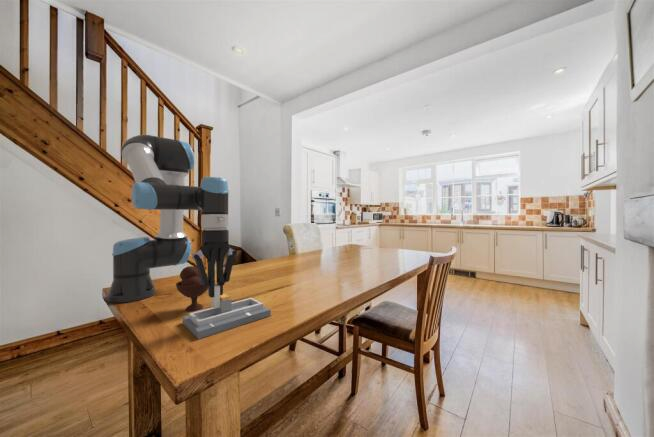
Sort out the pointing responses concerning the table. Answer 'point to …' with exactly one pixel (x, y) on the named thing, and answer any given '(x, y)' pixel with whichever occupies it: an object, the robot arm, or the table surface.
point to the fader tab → (224, 304)
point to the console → (225, 317)
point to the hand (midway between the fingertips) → (215, 306)
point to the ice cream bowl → (191, 286)
